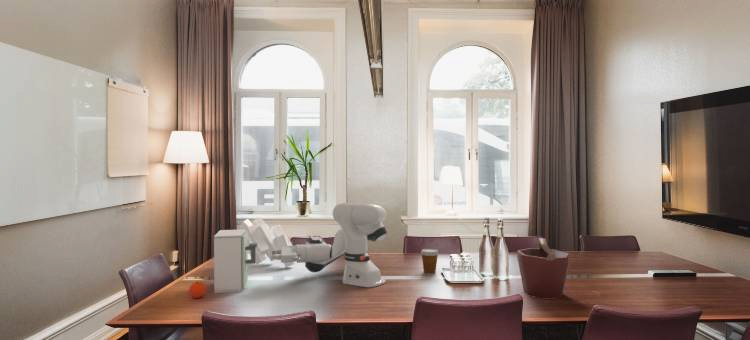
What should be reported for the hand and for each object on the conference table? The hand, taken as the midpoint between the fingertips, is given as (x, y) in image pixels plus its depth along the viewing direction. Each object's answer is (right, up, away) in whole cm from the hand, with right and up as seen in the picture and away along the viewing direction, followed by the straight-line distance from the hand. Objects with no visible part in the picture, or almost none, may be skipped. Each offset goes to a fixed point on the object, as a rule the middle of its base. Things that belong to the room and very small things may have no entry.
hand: (271, 254), depth 213 cm
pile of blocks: (-14, -14, +39) cm, 43 cm away
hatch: (-9, -13, -3) cm, 17 cm away
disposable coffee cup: (+80, -14, +23) cm, 85 cm away
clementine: (-27, -15, -21) cm, 37 cm away
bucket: (+127, -15, -15) cm, 129 cm away
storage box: (-19, -14, -4) cm, 24 cm away
